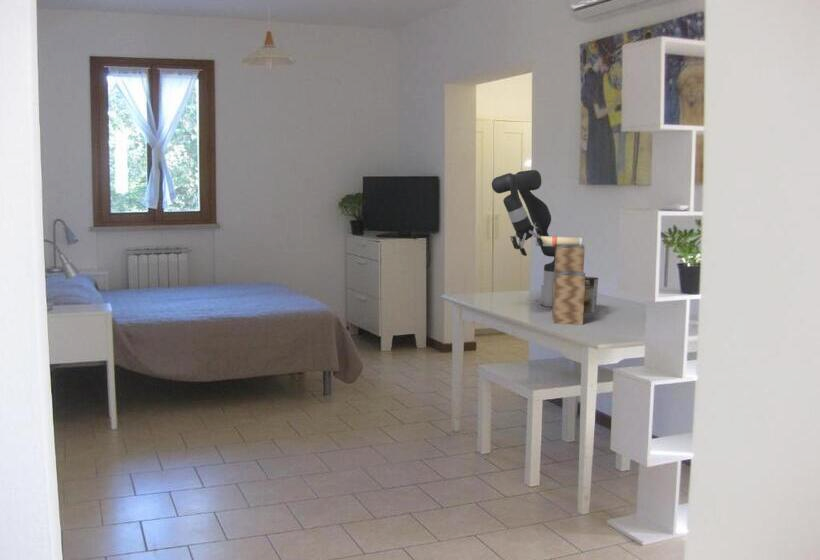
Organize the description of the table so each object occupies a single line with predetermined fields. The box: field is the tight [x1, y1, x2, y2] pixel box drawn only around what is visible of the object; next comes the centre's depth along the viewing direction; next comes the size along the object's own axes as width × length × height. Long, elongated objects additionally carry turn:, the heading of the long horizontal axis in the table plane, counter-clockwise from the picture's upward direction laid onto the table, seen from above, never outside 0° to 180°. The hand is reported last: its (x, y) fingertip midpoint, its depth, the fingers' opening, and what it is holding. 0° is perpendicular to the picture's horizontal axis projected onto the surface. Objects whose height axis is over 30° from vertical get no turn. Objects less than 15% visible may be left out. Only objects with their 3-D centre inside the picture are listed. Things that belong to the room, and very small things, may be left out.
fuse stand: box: [551, 243, 586, 326], centre depth 389 cm, size 12×20×33 cm, turn 174°
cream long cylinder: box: [535, 235, 583, 247], centre depth 392 cm, size 20×4×4 cm, turn 84°
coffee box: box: [583, 275, 599, 313], centre depth 419 cm, size 9×6×16 cm
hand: (533, 250), depth 384 cm, fingers open, 8 cm apart
